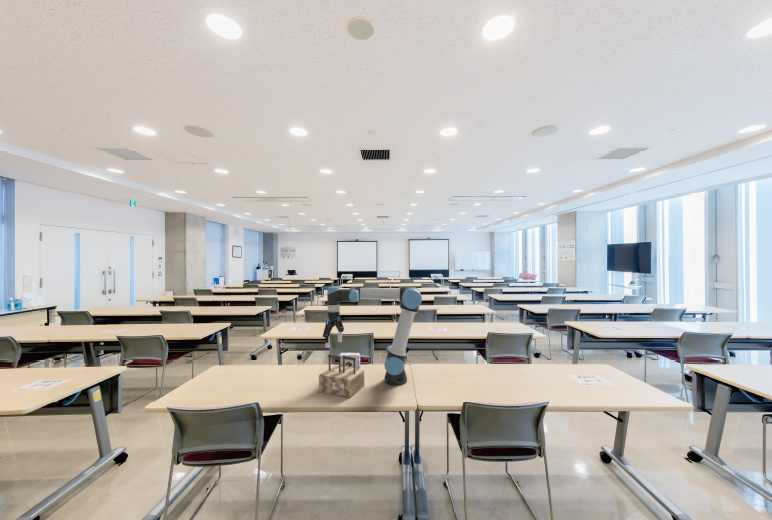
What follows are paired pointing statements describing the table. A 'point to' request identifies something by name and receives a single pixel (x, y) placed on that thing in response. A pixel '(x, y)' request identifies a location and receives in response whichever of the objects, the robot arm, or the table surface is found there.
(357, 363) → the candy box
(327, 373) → the flap near
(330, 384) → the wooden box
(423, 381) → the table surface
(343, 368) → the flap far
